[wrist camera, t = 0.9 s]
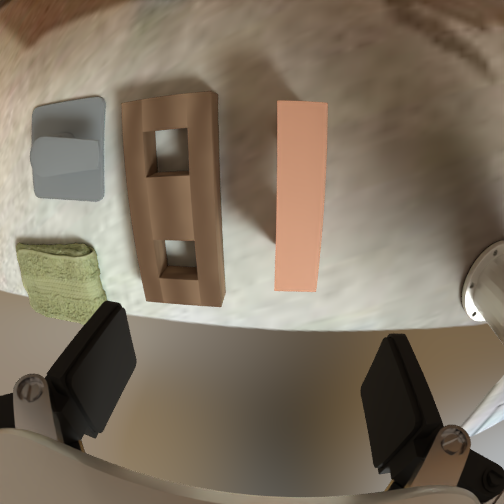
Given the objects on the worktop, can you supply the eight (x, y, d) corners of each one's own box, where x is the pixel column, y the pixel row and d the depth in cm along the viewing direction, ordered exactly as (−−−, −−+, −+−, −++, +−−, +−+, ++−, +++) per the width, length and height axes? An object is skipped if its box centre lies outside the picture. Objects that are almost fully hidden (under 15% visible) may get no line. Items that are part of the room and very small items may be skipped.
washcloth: (18, 239, 35) (5, 247, 32) (98, 240, 34) (85, 250, 31) (41, 308, 41) (31, 318, 38) (119, 322, 39) (110, 336, 36)
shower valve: (100, 216, 26) (12, 208, 27) (124, 201, 31) (38, 195, 32) (100, 91, 21) (8, 110, 22) (127, 94, 26) (36, 107, 27)
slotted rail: (217, 94, 25) (211, 91, 23) (225, 292, 34) (221, 307, 32) (135, 104, 26) (121, 103, 23) (155, 288, 35) (146, 301, 32)
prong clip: (314, 109, 25) (327, 102, 18) (308, 252, 31) (315, 291, 24) (277, 107, 25) (277, 100, 18) (276, 251, 32) (274, 290, 24)
